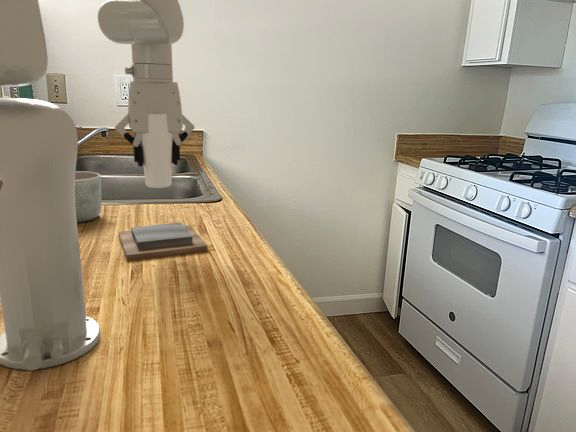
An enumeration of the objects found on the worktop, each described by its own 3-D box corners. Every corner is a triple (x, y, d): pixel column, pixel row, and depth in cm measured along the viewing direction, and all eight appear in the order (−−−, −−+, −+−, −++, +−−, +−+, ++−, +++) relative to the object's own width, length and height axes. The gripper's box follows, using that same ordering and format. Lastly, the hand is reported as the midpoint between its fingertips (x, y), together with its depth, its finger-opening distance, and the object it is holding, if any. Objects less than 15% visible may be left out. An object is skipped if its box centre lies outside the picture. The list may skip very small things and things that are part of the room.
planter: (45, 216, 122) (40, 174, 119) (95, 209, 129) (92, 169, 126) (57, 228, 112) (52, 182, 109) (110, 220, 120) (107, 177, 117)
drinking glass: (134, 186, 99) (129, 112, 95) (157, 181, 105) (154, 111, 101) (159, 190, 96) (155, 114, 92) (182, 185, 102) (179, 112, 98)
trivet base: (207, 251, 100) (207, 238, 99) (127, 260, 93) (126, 247, 93) (189, 229, 114) (189, 218, 113) (118, 236, 107) (117, 225, 107)
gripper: (107, 72, 87) (115, 170, 92) (201, 75, 94) (203, 165, 99) (104, 73, 94) (111, 163, 99) (192, 75, 101) (194, 160, 106)
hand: (157, 163), depth 99 cm, fingers closed on drinking glass, 6 cm apart
